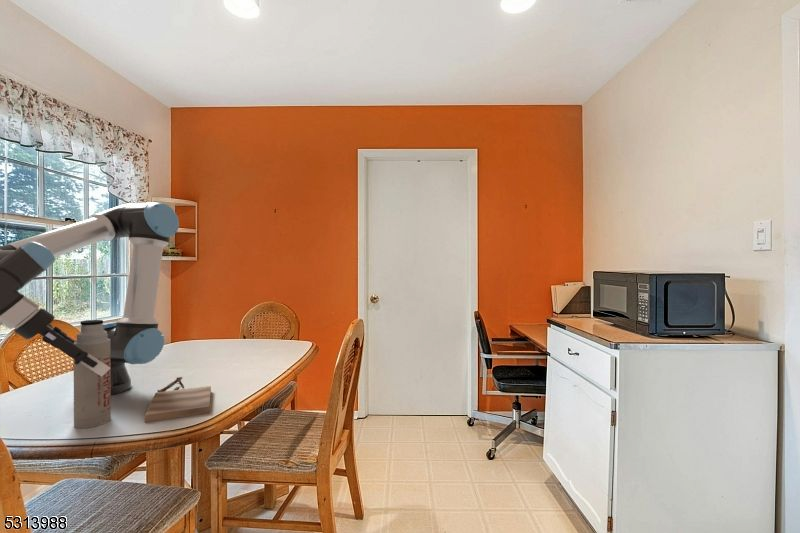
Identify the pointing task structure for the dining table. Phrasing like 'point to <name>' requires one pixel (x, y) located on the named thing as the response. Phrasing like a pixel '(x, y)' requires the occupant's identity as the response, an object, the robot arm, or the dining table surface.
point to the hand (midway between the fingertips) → (102, 367)
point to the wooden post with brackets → (173, 384)
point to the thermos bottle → (92, 378)
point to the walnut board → (179, 403)
